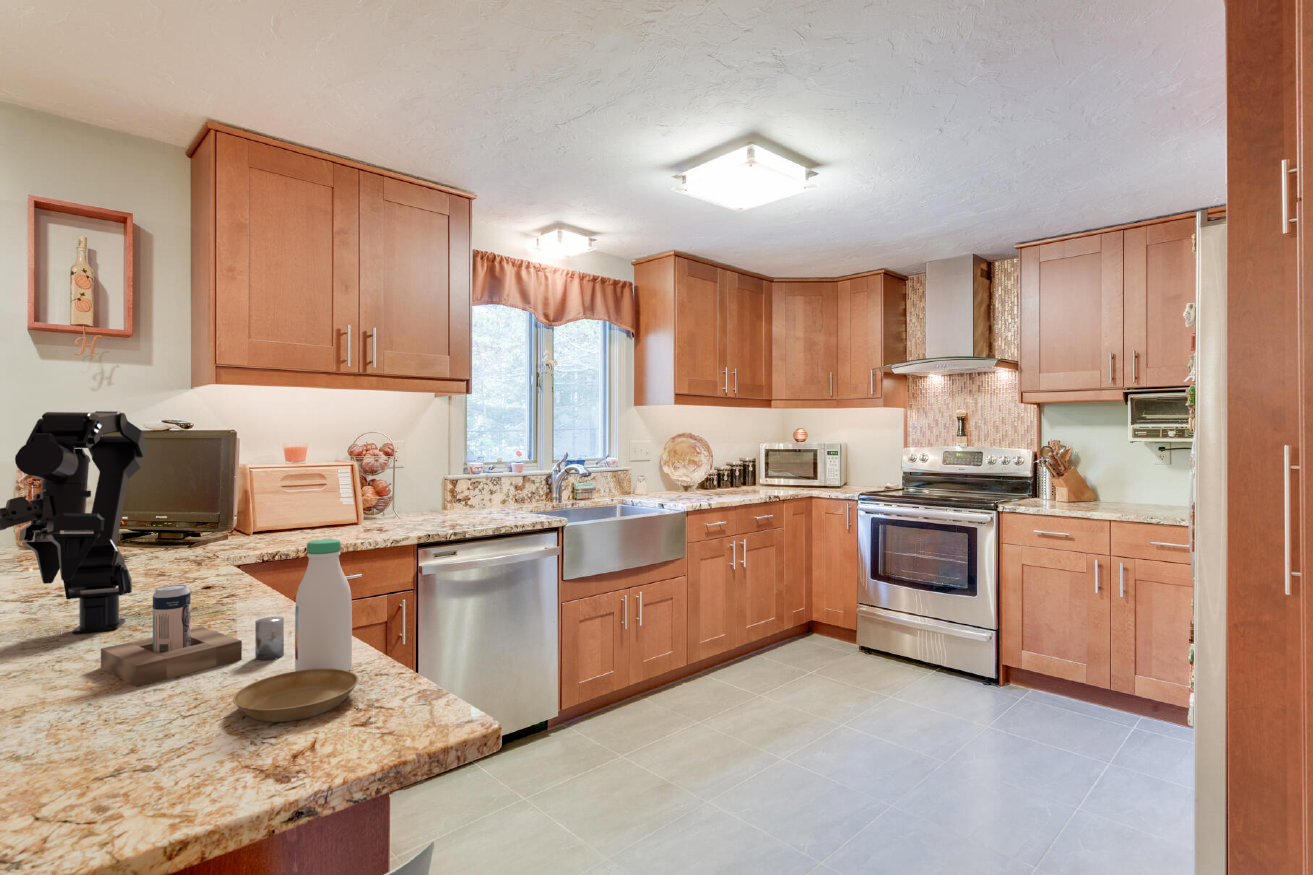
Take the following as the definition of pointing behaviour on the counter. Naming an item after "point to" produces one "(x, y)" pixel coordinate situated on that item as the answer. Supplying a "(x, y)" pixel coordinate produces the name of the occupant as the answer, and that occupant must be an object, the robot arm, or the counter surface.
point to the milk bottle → (323, 611)
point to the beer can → (171, 618)
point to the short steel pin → (269, 638)
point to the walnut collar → (169, 657)
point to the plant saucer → (295, 694)
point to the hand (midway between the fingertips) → (56, 581)
